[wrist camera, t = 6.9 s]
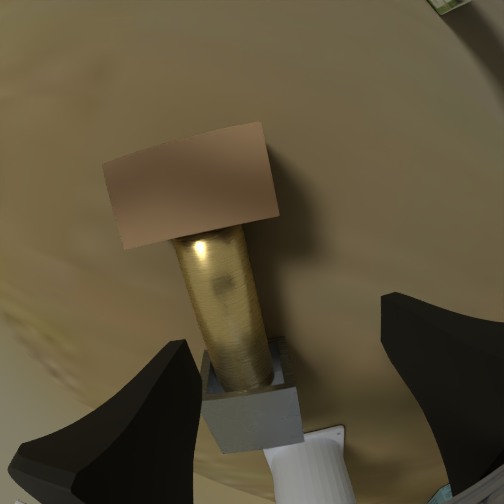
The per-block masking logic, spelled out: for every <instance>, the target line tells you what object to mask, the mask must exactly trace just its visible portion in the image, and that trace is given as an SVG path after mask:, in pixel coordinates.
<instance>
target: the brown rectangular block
mask: <svg viewBox="0 0 504 504" xmlns="http://www.w3.org/2000/svg"><path fill="white" fill-rule="evenodd" d="M102 167H103V171H104V176H105V180H106V184H107V189H108V193H109V197H110V201H111V205H112V209H113V212H114V216H115V220H116V223H117V227H118V230H119V234H120V237H121V241H122V244H123V247H124V250H127V249H131V248H135V247H139V246H143V245H148V244H152V243H156V242H161V241H165V240H169V239H174V238H178V237H182V236H187V235H191V234H196V233H200V232H205V231H210V230H214V229H219V228H223V227H228V226H233V225H238V224H242V223H247V222H252V221H257V220H262V219H267V218H272V217H277V216H280V215H279V210H278V204H277V199H276V194H275V189H274V183H273V178H272V173H271V168H270V163H269V158H268V153H267V149H266V144H265V139H264V134H263V130H262V125H261V121H258V122H252V123H247V124H242V125H237V126H232V127H227V128H223V129H218V130H214V131H210V132H205V133H201V134H197V135H193V136H189V137H186V138H182V139H178V140H175V141H171V142H167V143H164V144H161V145H157V146H154V147H151V148H147V149H144V150H141V151H138V152H135V153H132V154H129V155H126V156H123V157H120V158H117V159H114V160H112V161H109V162H106V163H103V164H102Z"/></svg>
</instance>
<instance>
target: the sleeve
mask: <svg viewBox="0 0 504 504" xmlns="http://www.w3.org/2000/svg"><path fill="white" fill-rule="evenodd" d="M267 341H268V345H269V350H270V354H271V359H272V363H273V368H274V372H275V378H274V381H273V383H272V384H271V385H270V386H266V387H260V388H254V389H248V390H241V391H234V392H227V393H225V392H224V391H223V390H222V388H221V386H220V383H219V380H218V378H217V375H216V372H215V370H214V367H213V364H212V362H211V359H210V356H209V353H208V351H207V350H204V354H203V359H202V365H201V371H200V376H201V378H202V407H201V414H202V416H203V418H204V420H205V422H206V424H207V426H208V428H209V429H210V431H211V433H212V435H213V437H214V439H215V441H216V442H217V444H218V446H219V448H220V450H221V451H222V453H223V454H225V453H236V452H246V451H254V450H262V449H269V448H275V447H281V446H287V445H292V444H297V443H302V442H305V440H304V433H303V427H302V420H301V414H300V408H299V402H298V396H297V389H296V384H295V380H294V376H293V371H292V367H291V363H290V358H289V354H288V350H287V345H286V341H285V337H279V338H274V339H269V340H267Z"/></svg>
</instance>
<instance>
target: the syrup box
mask: <svg viewBox="0 0 504 504" xmlns="http://www.w3.org/2000/svg"><path fill="white" fill-rule="evenodd" d="M428 1H429V2H430V4H431V5H432V6H433V7H434V8H435V10H436V11H437V12H438V13H439V14H440V15H442V14H445V13H447V12H449V11H451V10H453V9H455V8H457V7H459V6H462V5H464V4H466V3H468V2H470V1H472V0H428Z"/></svg>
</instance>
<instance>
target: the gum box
mask: <svg viewBox="0 0 504 504" xmlns="http://www.w3.org/2000/svg"><path fill="white" fill-rule="evenodd" d="M451 498H453V497H452V492H451V487H450V484H448V485H446V486H444V487H442V488H440V489H439V490H438V492H437V493H436V494H435V495H434V496H433V498H432V499H431V500H430V501H429V502H428V503H427V504H442V503H444V502H446V501H447V500H449V499H451Z"/></svg>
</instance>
